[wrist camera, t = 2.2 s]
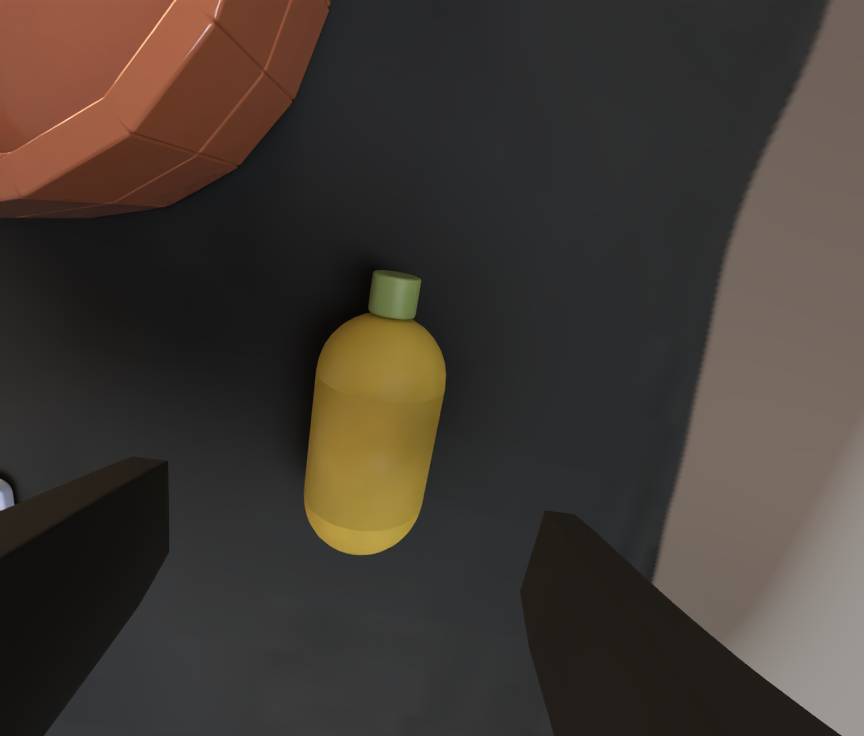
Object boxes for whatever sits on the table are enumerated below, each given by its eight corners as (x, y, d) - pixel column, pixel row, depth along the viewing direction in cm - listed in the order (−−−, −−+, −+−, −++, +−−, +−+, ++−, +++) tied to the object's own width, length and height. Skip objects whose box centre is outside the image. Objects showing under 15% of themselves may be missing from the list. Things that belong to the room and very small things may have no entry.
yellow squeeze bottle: (413, 510, 15) (413, 590, 12) (313, 498, 15) (284, 576, 11) (458, 277, 13) (473, 297, 9) (339, 256, 12) (312, 269, 9)
